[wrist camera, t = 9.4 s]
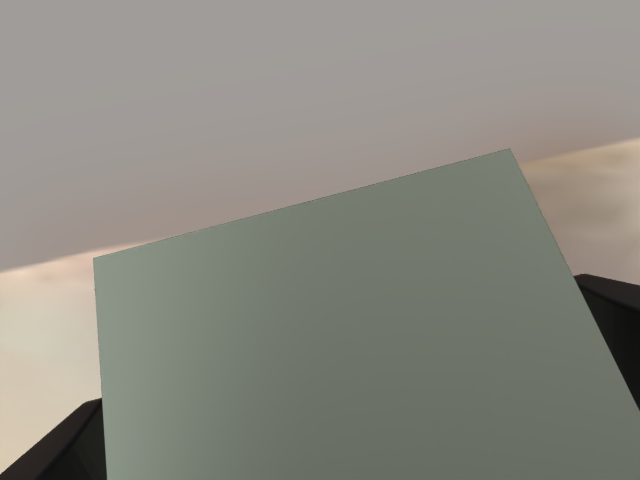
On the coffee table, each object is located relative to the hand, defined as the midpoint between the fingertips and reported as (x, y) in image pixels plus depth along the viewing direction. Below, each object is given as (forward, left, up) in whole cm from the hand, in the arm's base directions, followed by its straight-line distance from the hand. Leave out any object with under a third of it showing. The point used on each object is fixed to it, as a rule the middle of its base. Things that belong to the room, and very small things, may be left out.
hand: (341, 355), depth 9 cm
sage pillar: (-1, -1, -8) cm, 8 cm away
